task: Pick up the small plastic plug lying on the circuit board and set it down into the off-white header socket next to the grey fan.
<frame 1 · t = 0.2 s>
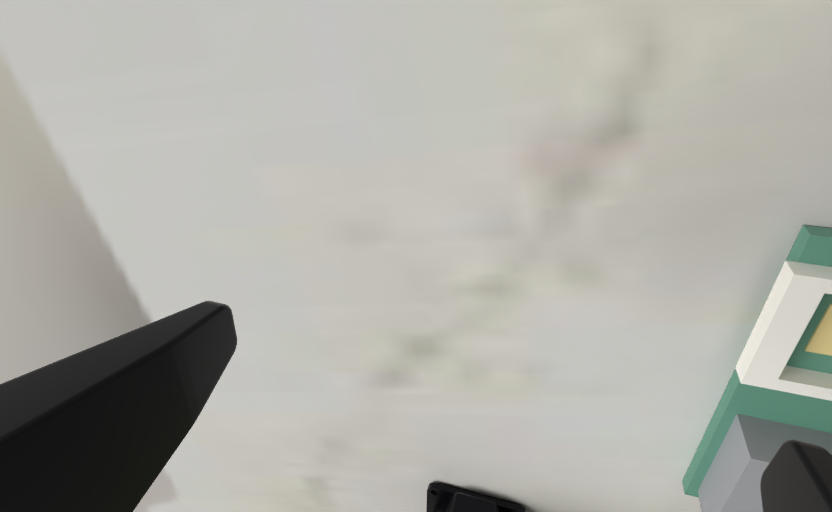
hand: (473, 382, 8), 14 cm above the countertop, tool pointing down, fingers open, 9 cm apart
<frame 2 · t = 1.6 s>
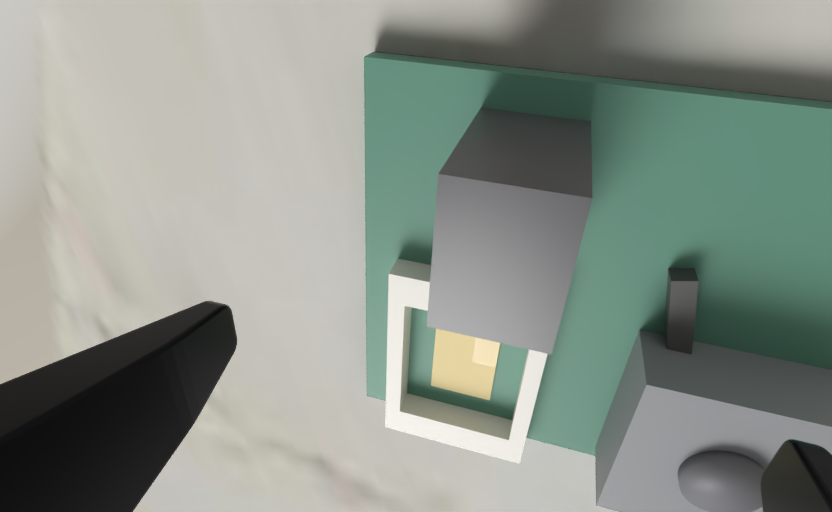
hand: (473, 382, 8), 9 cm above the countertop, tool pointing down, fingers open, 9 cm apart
plug: (523, 181, 15), point 1 cm above the countertop, touching board
board: (595, 294, 17), on the countertop
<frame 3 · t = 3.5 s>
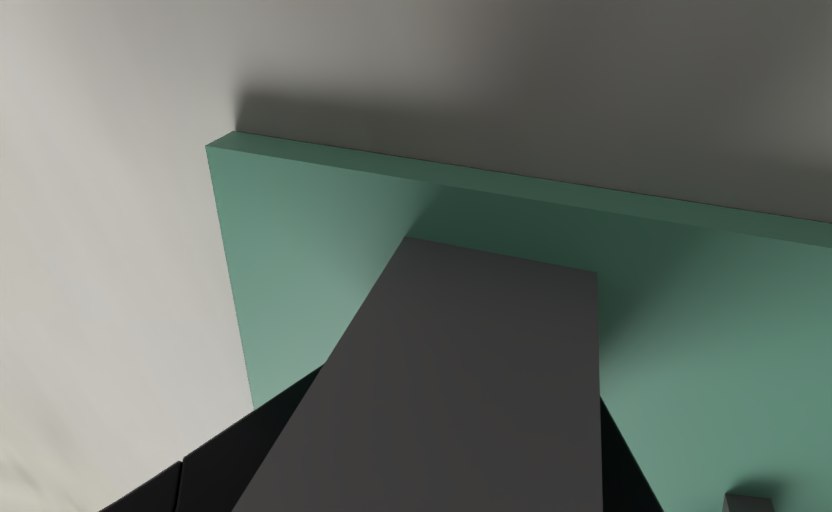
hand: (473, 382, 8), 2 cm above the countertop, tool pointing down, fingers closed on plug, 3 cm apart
plug: (481, 349, 9), point 1 cm above the countertop, touching board, gripper
board: (601, 491, 11), on the countertop
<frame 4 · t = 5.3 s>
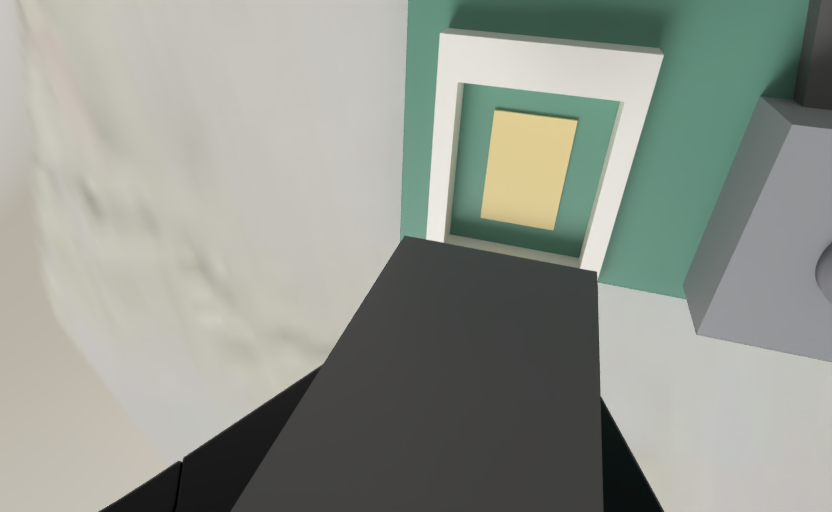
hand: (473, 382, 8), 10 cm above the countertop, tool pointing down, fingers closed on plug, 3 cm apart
plug: (481, 348, 9), point 9 cm above the countertop, touching gripper
board: (698, 63, 14), on the countertop
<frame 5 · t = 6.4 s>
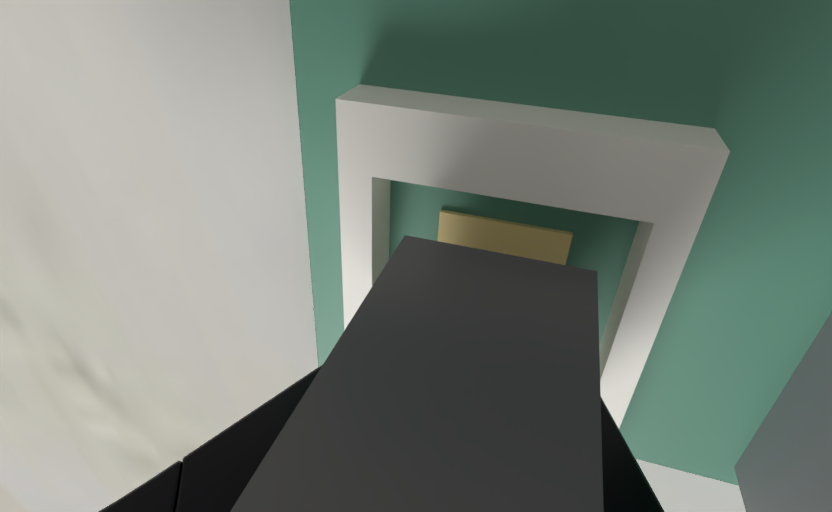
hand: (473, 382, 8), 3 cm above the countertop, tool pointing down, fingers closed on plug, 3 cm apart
plug: (481, 348, 9), point 2 cm above the countertop, touching gripper
board: (776, 148, 8), on the countertop
when the fingers open (3 cm above the countertop, at t = 7.1 s): plug drops 1 cm, resting on board.
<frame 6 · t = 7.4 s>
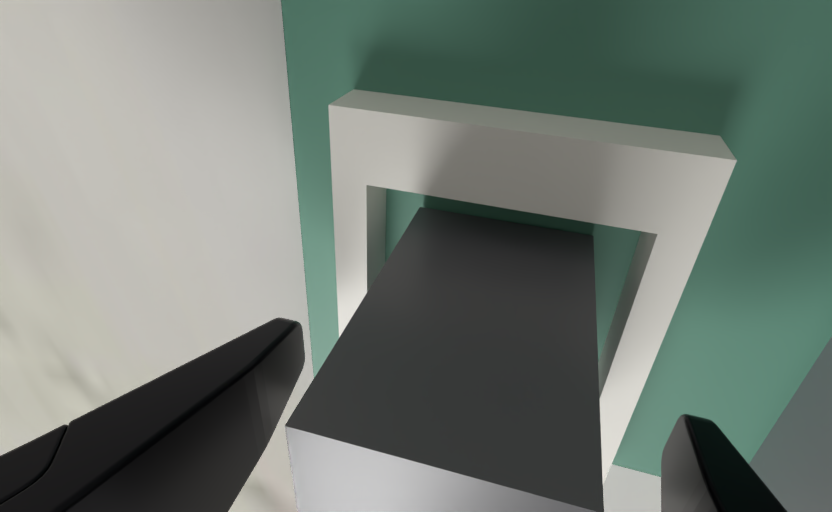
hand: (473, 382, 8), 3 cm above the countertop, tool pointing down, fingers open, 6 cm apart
plug: (489, 311, 10), point 1 cm above the countertop, touching board
board: (783, 155, 8), on the countertop
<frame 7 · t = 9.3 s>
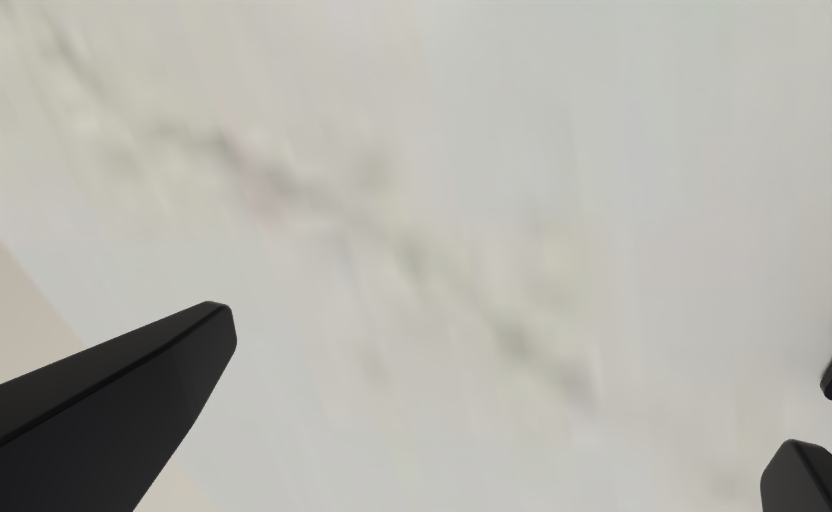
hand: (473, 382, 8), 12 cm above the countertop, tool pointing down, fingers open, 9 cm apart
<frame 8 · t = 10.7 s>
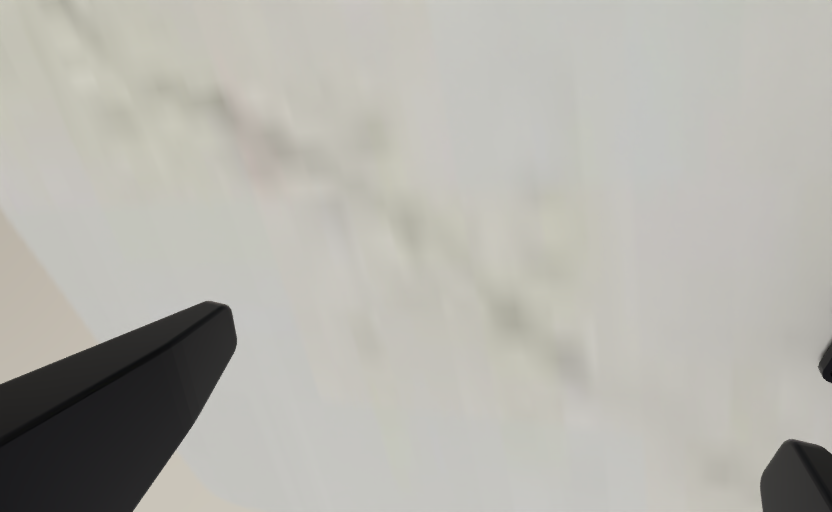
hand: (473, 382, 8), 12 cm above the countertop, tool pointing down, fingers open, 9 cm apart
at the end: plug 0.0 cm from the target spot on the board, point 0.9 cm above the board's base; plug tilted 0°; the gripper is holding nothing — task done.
